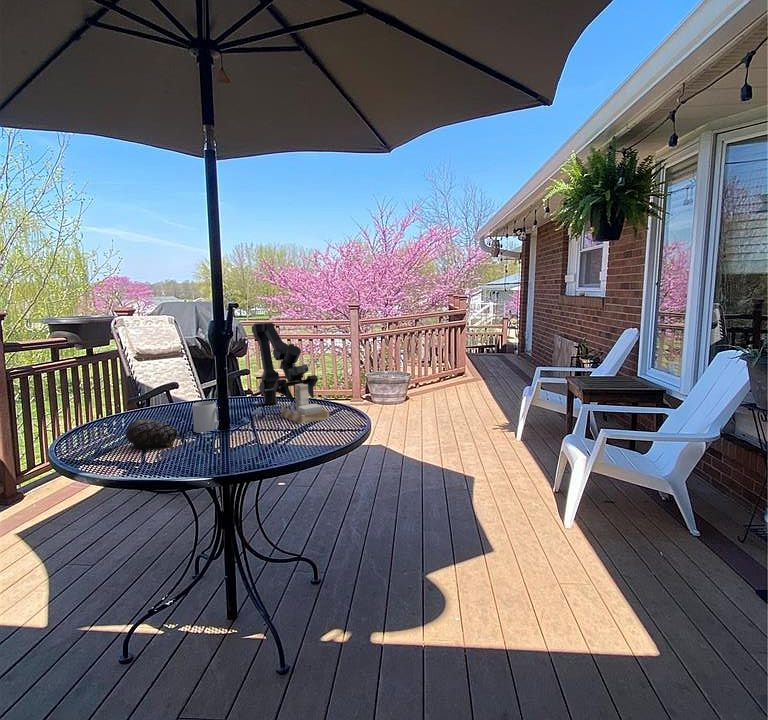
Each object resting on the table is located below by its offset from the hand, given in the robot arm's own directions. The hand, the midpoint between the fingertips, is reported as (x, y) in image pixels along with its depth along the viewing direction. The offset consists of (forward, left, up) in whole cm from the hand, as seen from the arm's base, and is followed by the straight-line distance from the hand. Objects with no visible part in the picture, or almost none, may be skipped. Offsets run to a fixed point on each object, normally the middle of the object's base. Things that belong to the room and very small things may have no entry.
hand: (303, 399), depth 200 cm
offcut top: (+5, +3, -4) cm, 7 cm away
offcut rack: (+1, +1, -8) cm, 8 cm away
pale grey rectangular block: (-1, -1, -7) cm, 7 cm away
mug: (+16, -34, -8) cm, 38 cm away
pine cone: (+31, -48, -8) cm, 58 cm away
